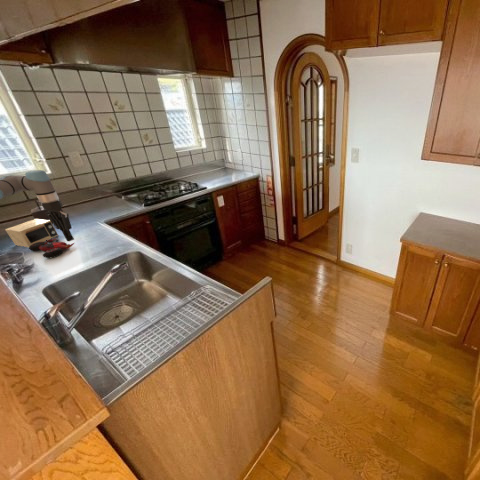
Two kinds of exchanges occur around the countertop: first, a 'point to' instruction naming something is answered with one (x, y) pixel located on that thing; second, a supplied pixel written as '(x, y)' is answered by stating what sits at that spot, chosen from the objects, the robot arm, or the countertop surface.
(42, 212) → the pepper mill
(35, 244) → the toy motorcycle
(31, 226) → the mini oven
